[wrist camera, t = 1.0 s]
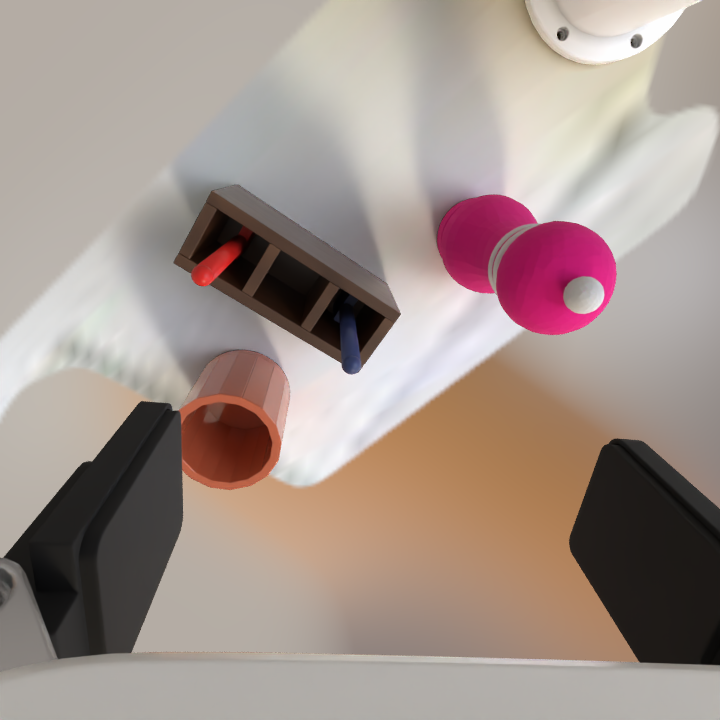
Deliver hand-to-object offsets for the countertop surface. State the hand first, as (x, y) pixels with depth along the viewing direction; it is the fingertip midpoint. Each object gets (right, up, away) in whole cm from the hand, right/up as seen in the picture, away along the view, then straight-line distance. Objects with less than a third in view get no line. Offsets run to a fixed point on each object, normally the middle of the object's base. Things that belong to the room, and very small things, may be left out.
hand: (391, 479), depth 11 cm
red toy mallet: (-10, +13, +28) cm, 32 cm away
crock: (-11, 0, +34) cm, 36 cm away
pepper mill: (+9, +13, +30) cm, 34 cm away
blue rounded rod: (-2, +8, +30) cm, 31 cm away
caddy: (-6, +11, +30) cm, 32 cm away
